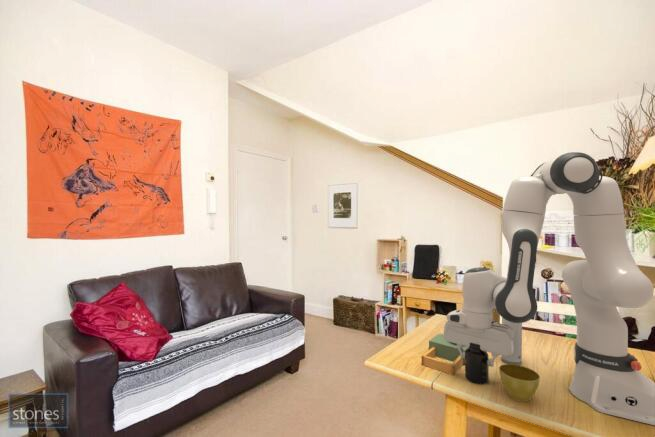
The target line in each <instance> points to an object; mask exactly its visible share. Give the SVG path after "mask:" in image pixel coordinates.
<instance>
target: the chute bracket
mask: <svg viewBox="0 0 655 437" xmlns="http://www.w3.org/2000/svg"><path fill="white" fill-rule="evenodd" d="M435 357H436V356H435V348H434V347H432V348H431V349H430V350H429V349H428V350H426V352H425V353H424V354H422V355H421V365H422V366H425V367H428V368H431V369H434V370H437V371H440V372H442V373H443V372H444V373H447V374H449V375H452V376H454V375H455V374H456V373H458V371H459V370H460V368H461V367H462V366H464V364H463V358H460V356H459V357H458V358H457V359H456V360H455V361H452V363H451V362H447V361H443V360H440V359H437V358H435Z"/></svg>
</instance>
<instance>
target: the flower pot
mask: <svg viewBox="0 0 655 437" xmlns="http://www.w3.org/2000/svg"><path fill="white" fill-rule="evenodd" d="M498 370H499V375H500V378H501V379H500V380H501V382H502V384H503V386H504V390H505V391H506V392H507V394H508V396H510V398H512V399H513V400H516V401H519V402H528V401H529V400H531V398H532V397H533V396H534V395H535V393H536V391H537V390H538V387H539V384H540V380H541V376H540V374H539V373H538V372H537V371H535V370H534V369H531V368H529V367H526V366H524V365H521V364H520V365H514V364H507V363H504V364H501V365H499V367H498Z"/></svg>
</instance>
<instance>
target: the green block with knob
mask: <svg viewBox="0 0 655 437" xmlns="http://www.w3.org/2000/svg"><path fill="white" fill-rule="evenodd" d="M432 347H434V348H435V357H438V358H441V359H444V360H448V361H450V362H454V361H455V360H456V359H457V358H458V357H459V356H460V352H459V350H458V348H457V344H456V343H452V342H448V341H446V340H445V339H444V333H443V334H442V333H438V334H436V335H435V336H433V337H432V338H431V339H429V341H428V351H429V350H430V349H431V348H432ZM462 348H463V350H464V352H465V351H466V349H467V348H469V347H467V346H462ZM463 366H465V359H463Z"/></svg>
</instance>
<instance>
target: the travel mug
mask: <svg viewBox="0 0 655 437" xmlns="http://www.w3.org/2000/svg"><path fill="white" fill-rule="evenodd" d="M501 324H506V325H509V327H511V328H512V329H513V330H514V339H513V346H514V352H513V354H512V355H511V356H510V357H505V356H502V355H501V358H500V360H501V361H502V362H504V364H514V365H520V366H521V365H522V359H523V358H522V355H523V354H522V352H523V349H522V348H523V323H513V322H509V321H507V320H505V319H504V318H503V317H501ZM509 329H510V328H509Z"/></svg>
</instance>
